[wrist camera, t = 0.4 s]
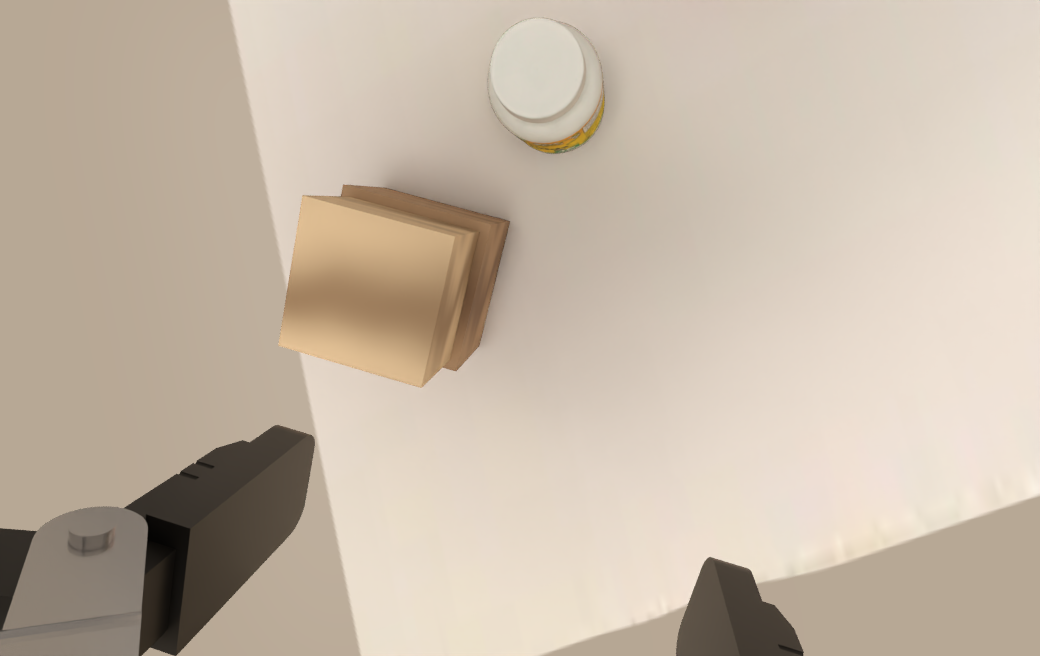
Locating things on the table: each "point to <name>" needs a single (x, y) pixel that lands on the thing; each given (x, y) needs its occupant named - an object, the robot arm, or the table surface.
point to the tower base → (482, 265)
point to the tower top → (376, 287)
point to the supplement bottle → (547, 85)
